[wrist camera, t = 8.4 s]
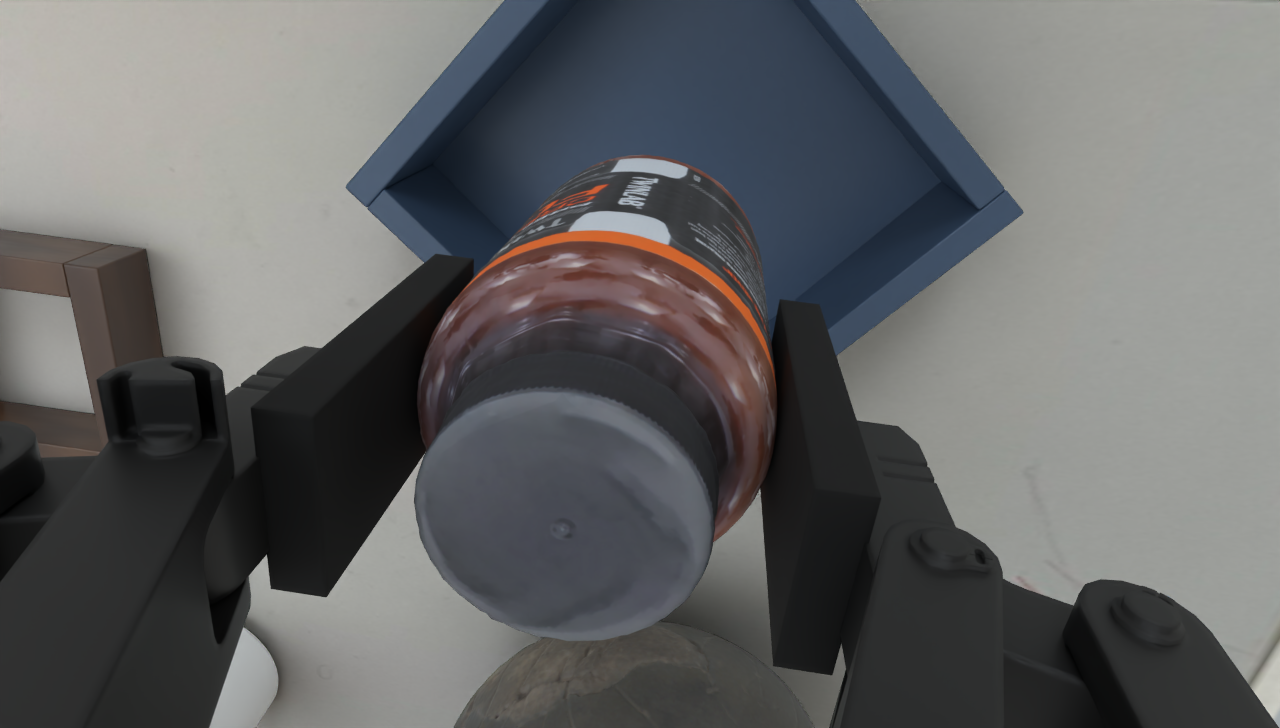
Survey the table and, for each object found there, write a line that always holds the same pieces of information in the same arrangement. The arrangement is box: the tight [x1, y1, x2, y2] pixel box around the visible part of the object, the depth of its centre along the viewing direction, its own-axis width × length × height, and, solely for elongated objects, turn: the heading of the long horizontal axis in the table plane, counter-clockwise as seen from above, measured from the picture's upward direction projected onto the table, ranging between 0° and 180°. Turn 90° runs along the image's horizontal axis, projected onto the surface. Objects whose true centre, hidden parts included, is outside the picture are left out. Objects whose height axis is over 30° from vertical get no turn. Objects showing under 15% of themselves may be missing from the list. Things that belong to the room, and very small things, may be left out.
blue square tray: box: [346, 0, 1023, 356], centre depth 29 cm, size 16×16×6 cm
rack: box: [0, 230, 163, 458], centre depth 38 cm, size 10×20×3 cm, turn 174°
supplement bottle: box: [414, 155, 777, 641], centre depth 15 cm, size 6×6×11 cm
